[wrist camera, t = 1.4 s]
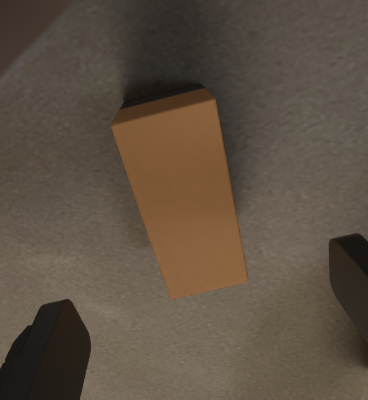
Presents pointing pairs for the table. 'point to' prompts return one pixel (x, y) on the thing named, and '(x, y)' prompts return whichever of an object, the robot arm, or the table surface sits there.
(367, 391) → the geometric form
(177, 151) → the eraser
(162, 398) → the table surface
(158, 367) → the table surface
